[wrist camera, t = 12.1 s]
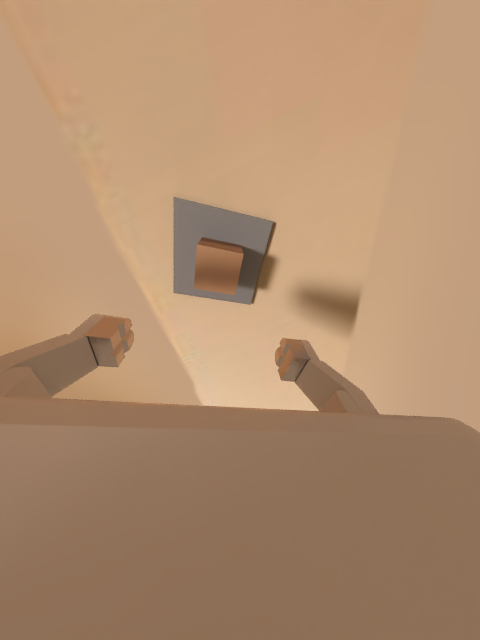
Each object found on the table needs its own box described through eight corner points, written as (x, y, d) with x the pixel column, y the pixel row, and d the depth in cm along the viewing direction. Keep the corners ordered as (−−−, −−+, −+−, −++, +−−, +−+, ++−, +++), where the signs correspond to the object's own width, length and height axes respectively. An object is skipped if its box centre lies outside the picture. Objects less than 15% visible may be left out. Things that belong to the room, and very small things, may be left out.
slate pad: (174, 197, 20) (173, 197, 20) (272, 221, 22) (273, 221, 22) (174, 291, 26) (173, 292, 26) (250, 302, 28) (250, 304, 28)
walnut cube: (202, 236, 22) (196, 244, 18) (240, 245, 23) (243, 254, 19) (199, 274, 25) (193, 288, 20) (233, 280, 25) (235, 295, 21)
